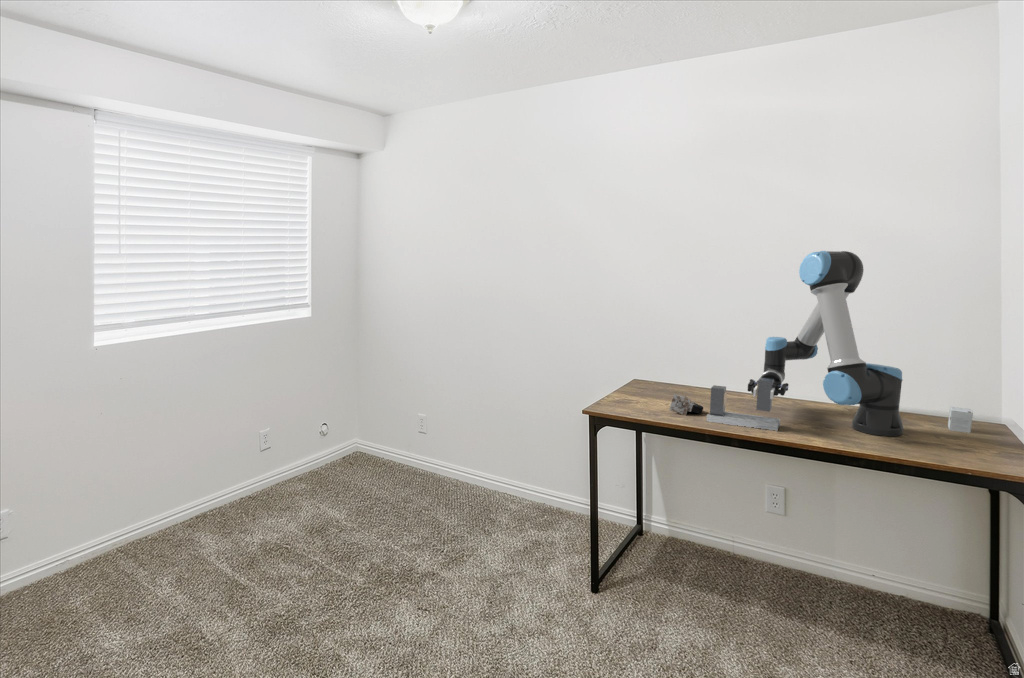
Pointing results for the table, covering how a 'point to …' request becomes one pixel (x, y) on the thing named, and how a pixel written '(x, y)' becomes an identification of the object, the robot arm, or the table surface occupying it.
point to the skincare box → (960, 419)
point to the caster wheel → (684, 405)
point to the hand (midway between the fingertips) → (762, 394)
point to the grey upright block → (764, 394)
